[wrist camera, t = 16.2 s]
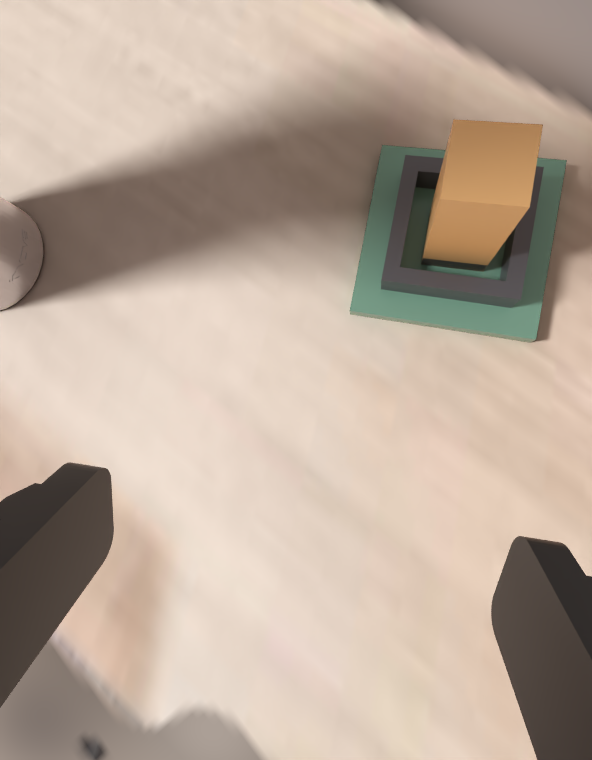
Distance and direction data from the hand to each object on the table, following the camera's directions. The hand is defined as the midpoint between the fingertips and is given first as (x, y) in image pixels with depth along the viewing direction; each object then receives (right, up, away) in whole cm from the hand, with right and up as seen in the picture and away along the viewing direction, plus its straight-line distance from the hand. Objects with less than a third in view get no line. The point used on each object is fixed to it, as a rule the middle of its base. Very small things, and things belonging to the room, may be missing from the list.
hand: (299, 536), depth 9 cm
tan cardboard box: (+11, +13, +21) cm, 27 cm away
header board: (+11, +13, +22) cm, 27 cm away
